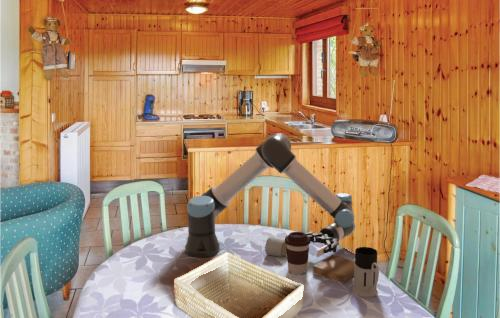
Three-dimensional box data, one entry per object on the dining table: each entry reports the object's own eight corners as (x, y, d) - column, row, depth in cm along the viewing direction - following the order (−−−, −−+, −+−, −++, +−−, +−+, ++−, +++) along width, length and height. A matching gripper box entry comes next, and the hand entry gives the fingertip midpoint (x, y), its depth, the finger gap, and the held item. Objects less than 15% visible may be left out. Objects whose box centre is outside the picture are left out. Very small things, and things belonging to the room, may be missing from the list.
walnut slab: (313, 273, 170) (313, 266, 170) (331, 261, 180) (332, 254, 180) (345, 283, 161) (345, 276, 160) (363, 271, 171) (363, 263, 171)
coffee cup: (292, 278, 166) (292, 240, 163) (280, 268, 175) (280, 232, 172) (314, 273, 170) (315, 236, 167) (301, 263, 179) (302, 228, 176)
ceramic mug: (282, 260, 183) (282, 242, 181) (264, 256, 186) (264, 239, 185) (291, 251, 192) (291, 234, 191) (274, 248, 196) (274, 232, 194)
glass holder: (371, 284, 161) (373, 245, 158) (389, 303, 147) (391, 261, 144) (348, 286, 159) (349, 247, 157) (364, 305, 145) (365, 263, 143)
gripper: (357, 249, 181) (330, 266, 165) (306, 236, 197) (277, 250, 181) (357, 232, 180) (331, 247, 164) (306, 220, 196) (277, 233, 180)
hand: (303, 249), depth 173 cm, fingers open, 13 cm apart
